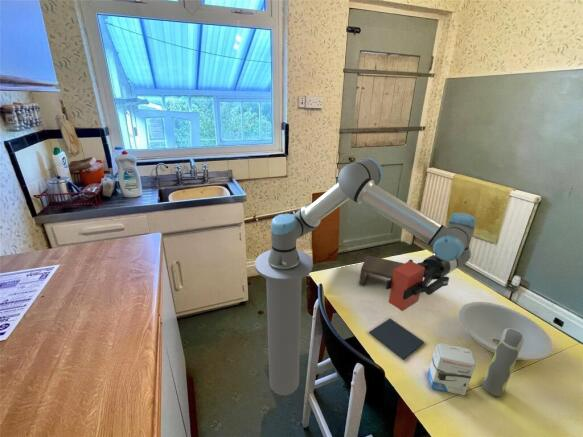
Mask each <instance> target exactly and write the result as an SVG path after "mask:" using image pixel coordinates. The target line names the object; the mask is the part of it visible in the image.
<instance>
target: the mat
mask: <svg viewBox="0 0 583 437" xmlns="http://www.w3.org/2000/svg"><path fill="white" fill-rule="evenodd" d="M369 335H371V336H372V337H373V338H375V339H376V340H377V341H378V342H380V343H381V344H382V345H383V346H385V347H386V348H388V349H389V350H390V351H391V352H393V353H394V354H395V355H396V356H397V357H399V358H400V359H401V360H403V361H404V360H406V359H407V358H408V357H409V356H410V355H411V354H413V353H414V352H415V351H417V350H418V349H419V348H420V347H421V346H422V345H424V344H425V341H424V340H422V339H421V338H419V337H418V336H416V335H415V334H414V333H413V332H411V331H409V330H408V329H406V327H403V326H402V325H401V324H399V323H398V322H396V321H395V320H393V319H392V318H388V319H387V320H386V321H383V323H380V324H379V325H378V326H376V327H375V328H373V329H372V330H370V331H369Z"/></svg>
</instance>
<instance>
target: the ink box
mask: <svg viewBox="0 0 583 437" xmlns="http://www.w3.org/2000/svg"><path fill="white" fill-rule="evenodd" d="M476 365H477V363H476V360H475V356H474V355H473V352H472V350H471V349H469V348H466V347H461V346H456V345H450V344H446V343H441V342H439V343H436V344H435V347H434V350H433V354H432V356H431V361H430V364H429V367H428V371H427V376H428V381H429V385H430V388H431V389H433V390H438V391H442V392H447V393H451V394H457V395H461V396H465V395H466V393H467V390H468V387H469V385H470V382H471V379H472V377H473V374H474V371H475V368H476Z"/></svg>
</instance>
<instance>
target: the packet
mask: <svg viewBox="0 0 583 437" xmlns="http://www.w3.org/2000/svg"><path fill="white" fill-rule="evenodd" d="M408 261H409V260H408ZM408 261H407V262H404V263H405V264H403V265H401V266H399V267H397V268H395V269H394V273H393V279H392V285H391V288H390V289H389V290H390V291H389V297H388V303H389V304H391V305H392V306H393V307H395V308H396V309H398V310H400V311H401V312H404V311H405V310H407V309H408V308H410V307H411V306H413V305H415V304H416V303H417V302H419V300H420V295H421V293H420V294H418V295H412V296H411V297H409V298H407V299H406V300H404V299H403V294H404V291H405V290H406V289H408V288H410V287H411V286H413V285H415V284H416V283H419V284H420V285H421V282H422V281H423V280H424V277H423V276H424V272H425V267H422V266H420V265H418V264H416V263H417V262H414V261H413V262H412V261H409V262H408Z"/></svg>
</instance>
